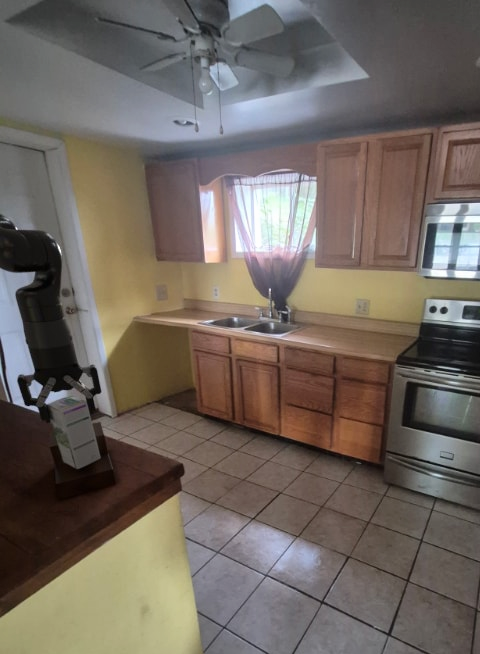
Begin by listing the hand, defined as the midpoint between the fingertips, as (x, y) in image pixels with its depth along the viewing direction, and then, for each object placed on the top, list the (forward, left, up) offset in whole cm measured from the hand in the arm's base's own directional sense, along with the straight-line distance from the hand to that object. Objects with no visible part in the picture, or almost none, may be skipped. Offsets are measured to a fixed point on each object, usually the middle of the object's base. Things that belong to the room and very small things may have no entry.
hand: (70, 417), depth 79 cm
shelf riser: (0, +4, -17) cm, 17 cm away
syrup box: (0, 0, -11) cm, 11 cm away
